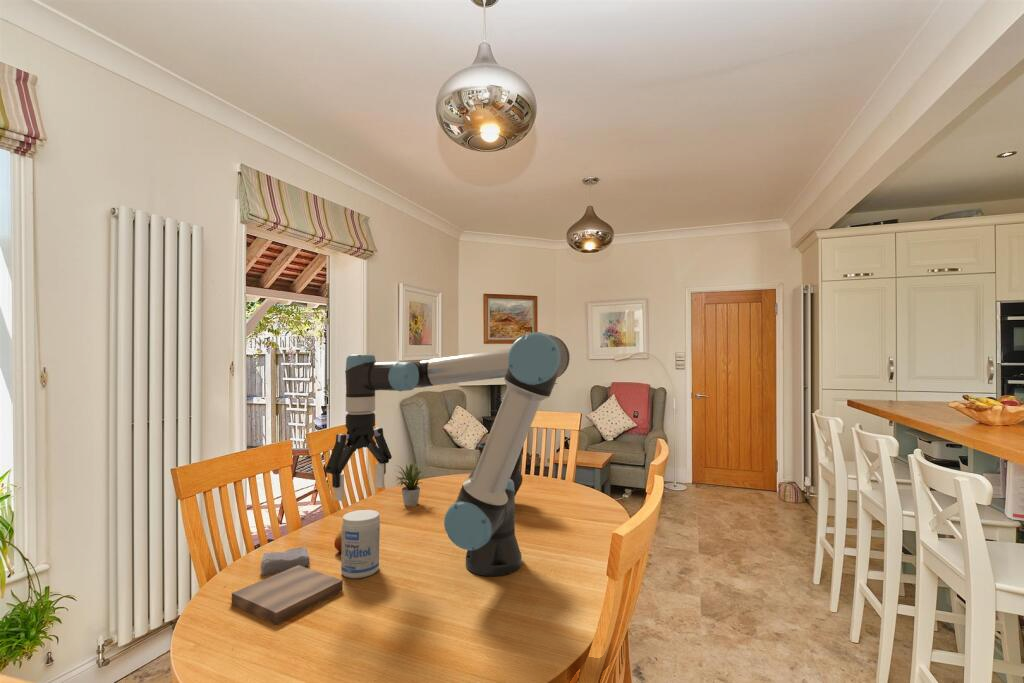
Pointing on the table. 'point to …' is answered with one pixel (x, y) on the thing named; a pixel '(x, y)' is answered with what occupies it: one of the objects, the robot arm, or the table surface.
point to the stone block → (284, 560)
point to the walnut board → (286, 593)
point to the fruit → (338, 541)
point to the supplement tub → (360, 543)
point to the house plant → (410, 485)
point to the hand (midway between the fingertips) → (360, 493)
